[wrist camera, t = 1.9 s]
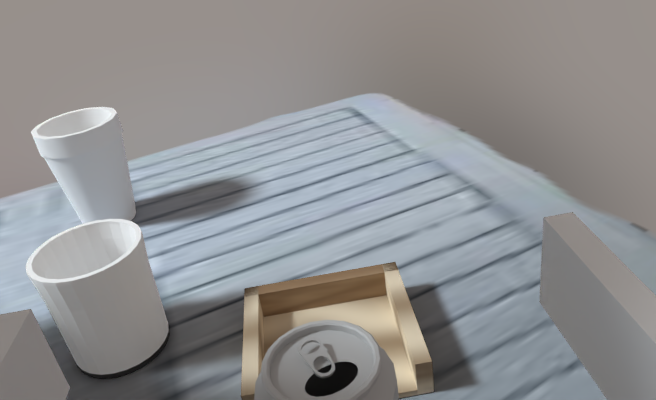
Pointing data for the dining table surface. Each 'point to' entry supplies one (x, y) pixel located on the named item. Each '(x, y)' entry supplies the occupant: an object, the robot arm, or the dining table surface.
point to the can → (326, 365)
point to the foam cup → (89, 162)
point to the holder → (342, 305)
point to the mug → (102, 296)
